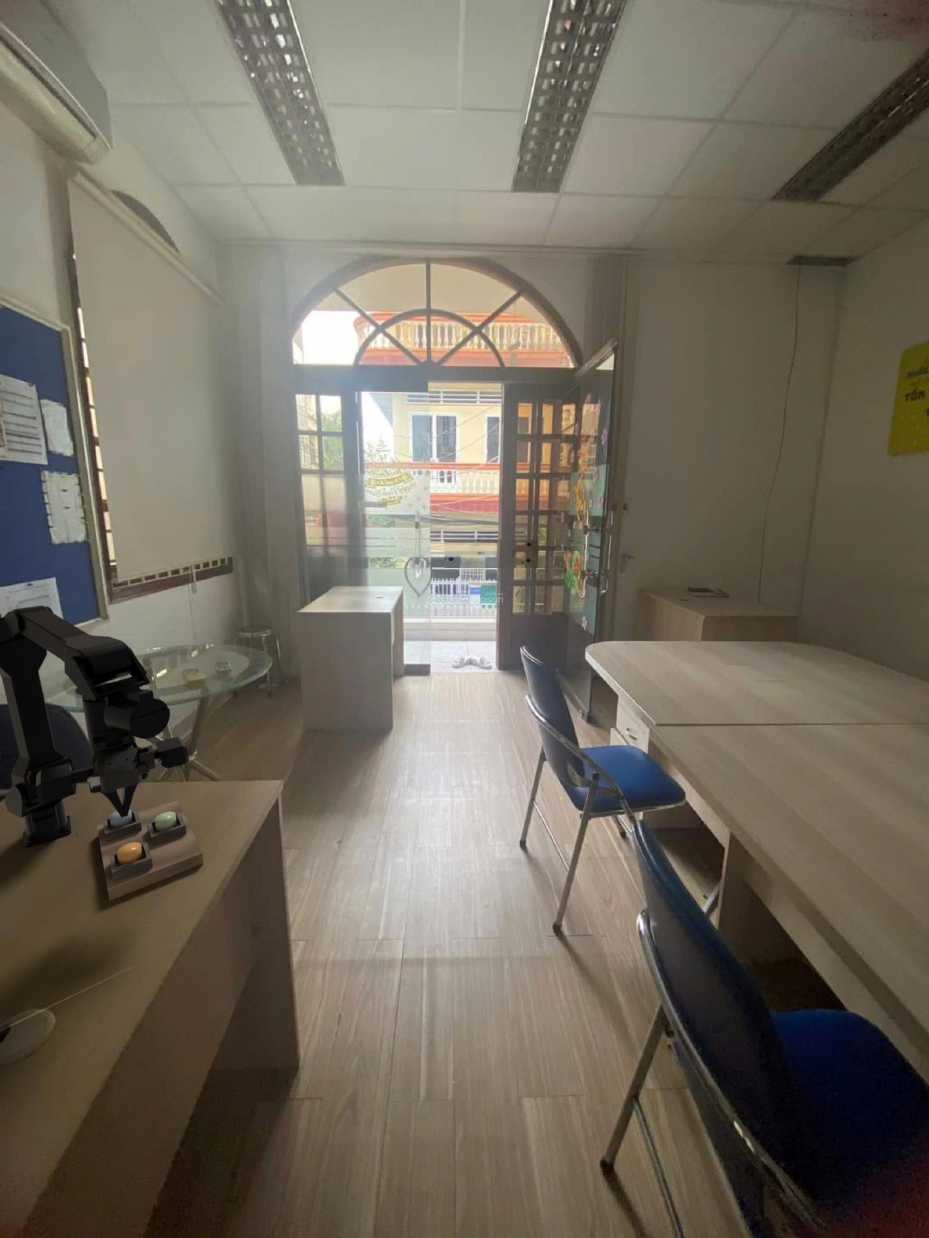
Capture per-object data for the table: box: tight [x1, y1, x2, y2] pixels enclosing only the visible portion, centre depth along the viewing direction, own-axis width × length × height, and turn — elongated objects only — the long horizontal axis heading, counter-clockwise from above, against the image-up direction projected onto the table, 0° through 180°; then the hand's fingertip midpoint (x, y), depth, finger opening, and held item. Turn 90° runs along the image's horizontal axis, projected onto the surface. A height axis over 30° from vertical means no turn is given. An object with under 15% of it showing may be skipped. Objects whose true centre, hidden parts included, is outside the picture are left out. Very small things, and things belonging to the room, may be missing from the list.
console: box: [96, 799, 204, 902], centre depth 85 cm, size 20×13×4 cm, turn 40°
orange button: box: [117, 842, 142, 865], centre depth 79 cm, size 3×3×2 cm
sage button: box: [155, 812, 177, 831], centre depth 87 cm, size 3×3×2 cm
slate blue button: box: [109, 808, 132, 828], centre depth 88 cm, size 3×3×2 cm
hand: (124, 815), depth 77 cm, fingers closed
